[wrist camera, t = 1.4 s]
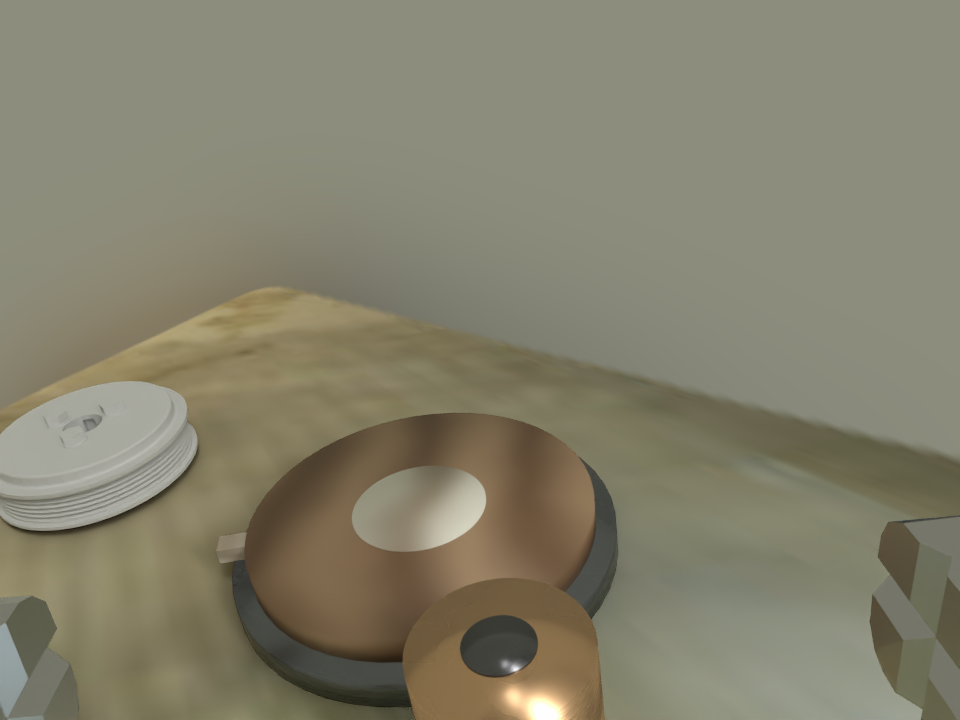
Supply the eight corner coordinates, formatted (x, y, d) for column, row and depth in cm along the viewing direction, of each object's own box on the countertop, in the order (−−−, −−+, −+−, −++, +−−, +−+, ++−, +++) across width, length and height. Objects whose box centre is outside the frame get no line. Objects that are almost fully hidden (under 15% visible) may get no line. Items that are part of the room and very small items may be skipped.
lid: (33, 448, 62) (6, 388, 60) (210, 412, 63) (190, 352, 61) (-26, 562, 51) (-62, 494, 49) (190, 516, 52) (165, 448, 50)
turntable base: (575, 422, 55) (574, 402, 55) (666, 662, 38) (665, 638, 37) (264, 474, 55) (258, 455, 54) (208, 743, 37) (198, 719, 36)
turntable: (561, 411, 54) (558, 391, 53) (636, 623, 38) (634, 598, 37) (247, 464, 53) (241, 444, 52) (190, 700, 37) (180, 676, 37)
